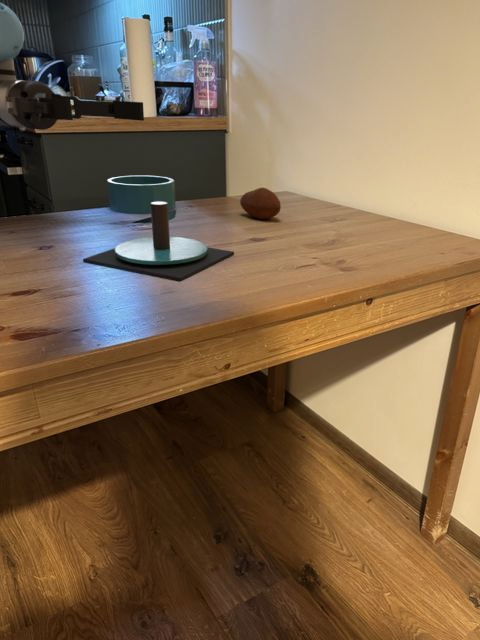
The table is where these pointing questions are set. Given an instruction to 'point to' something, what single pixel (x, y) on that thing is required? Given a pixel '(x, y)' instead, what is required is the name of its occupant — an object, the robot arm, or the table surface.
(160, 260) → the tin lid
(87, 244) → the table surface
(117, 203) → the green round tin
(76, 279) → the table surface
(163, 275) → the placemat
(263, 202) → the potato
